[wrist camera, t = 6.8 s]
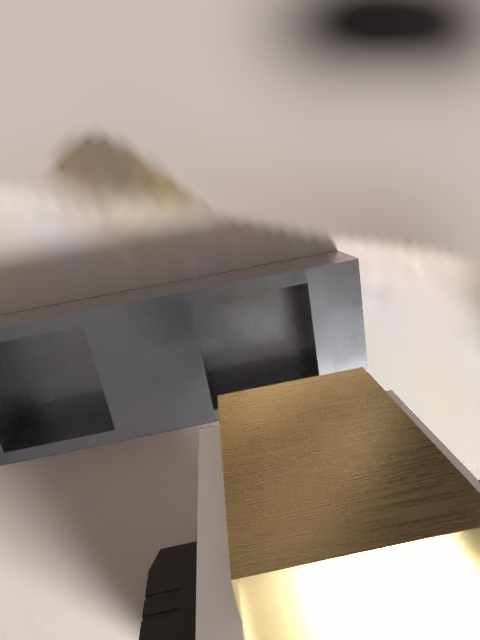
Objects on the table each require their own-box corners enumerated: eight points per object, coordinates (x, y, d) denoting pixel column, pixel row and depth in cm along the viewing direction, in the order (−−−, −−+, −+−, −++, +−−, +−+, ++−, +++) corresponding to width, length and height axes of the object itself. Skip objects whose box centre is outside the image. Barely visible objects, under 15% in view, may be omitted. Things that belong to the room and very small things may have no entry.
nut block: (242, 513, 13) (272, 754, 8) (217, 395, 12) (230, 580, 6) (373, 486, 13) (499, 703, 8) (362, 366, 12) (506, 521, 6)
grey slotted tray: (-13, 440, 24) (-42, 474, 21) (-62, 327, 22) (-102, 347, 19) (349, 367, 25) (369, 389, 22) (338, 250, 22) (358, 258, 20)
